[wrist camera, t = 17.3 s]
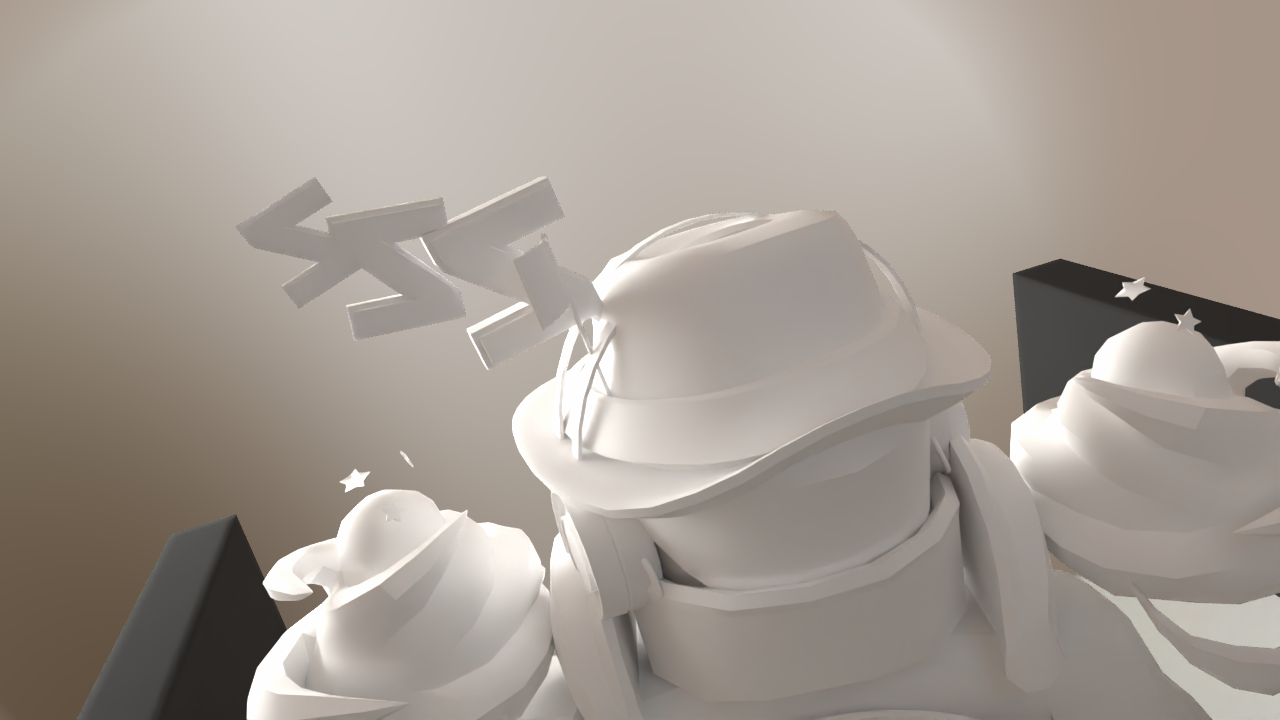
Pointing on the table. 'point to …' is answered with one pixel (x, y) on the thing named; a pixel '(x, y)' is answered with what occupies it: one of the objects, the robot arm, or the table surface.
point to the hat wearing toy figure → (774, 496)
